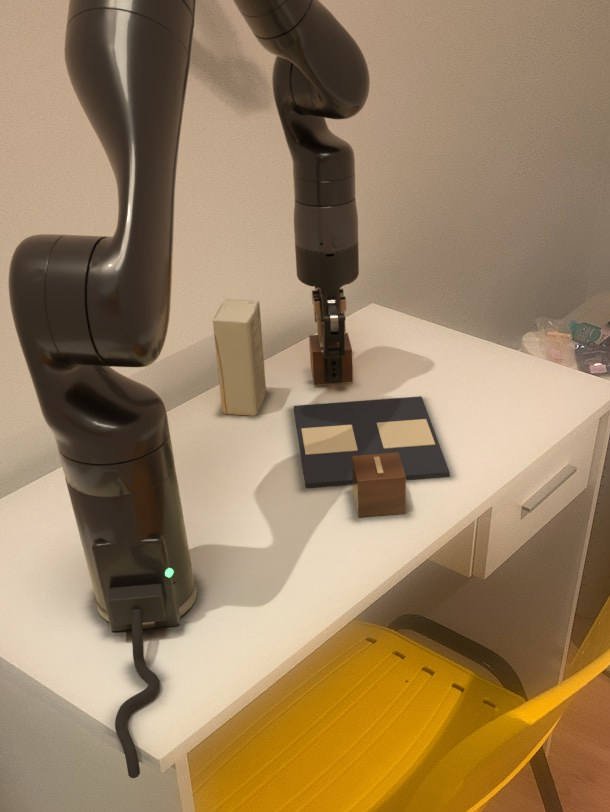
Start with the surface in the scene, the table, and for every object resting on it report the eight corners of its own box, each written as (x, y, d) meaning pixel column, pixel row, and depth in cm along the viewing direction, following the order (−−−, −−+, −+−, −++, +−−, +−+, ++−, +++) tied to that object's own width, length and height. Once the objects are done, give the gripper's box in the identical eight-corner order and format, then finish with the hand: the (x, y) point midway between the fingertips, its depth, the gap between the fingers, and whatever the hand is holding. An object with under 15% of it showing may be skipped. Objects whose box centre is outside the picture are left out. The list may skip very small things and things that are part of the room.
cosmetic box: (234, 391, 122) (224, 297, 114) (268, 393, 122) (260, 299, 114) (221, 415, 118) (210, 319, 110) (257, 417, 117) (248, 321, 109)
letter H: (352, 382, 123) (352, 347, 120) (314, 385, 122) (312, 350, 119) (348, 365, 127) (347, 331, 124) (310, 367, 126) (309, 333, 123)
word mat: (449, 476, 106) (449, 471, 106) (305, 488, 105) (305, 482, 105) (421, 400, 120) (421, 395, 119) (293, 409, 118) (293, 404, 118)
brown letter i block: (405, 513, 101) (406, 475, 98) (358, 517, 101) (357, 479, 98) (398, 488, 105) (398, 450, 102) (352, 491, 104) (351, 454, 101)
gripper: (290, 219, 118) (298, 351, 129) (299, 261, 107) (307, 400, 119) (351, 216, 119) (353, 347, 130) (365, 257, 108) (367, 396, 119)
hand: (331, 372), depth 124 cm, fingers closed on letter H, 5 cm apart
